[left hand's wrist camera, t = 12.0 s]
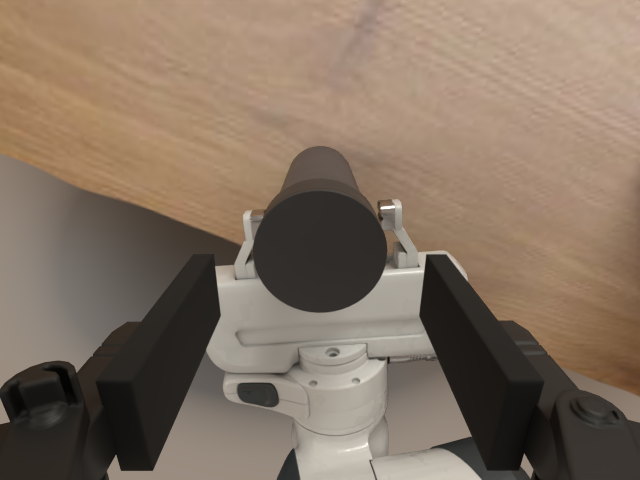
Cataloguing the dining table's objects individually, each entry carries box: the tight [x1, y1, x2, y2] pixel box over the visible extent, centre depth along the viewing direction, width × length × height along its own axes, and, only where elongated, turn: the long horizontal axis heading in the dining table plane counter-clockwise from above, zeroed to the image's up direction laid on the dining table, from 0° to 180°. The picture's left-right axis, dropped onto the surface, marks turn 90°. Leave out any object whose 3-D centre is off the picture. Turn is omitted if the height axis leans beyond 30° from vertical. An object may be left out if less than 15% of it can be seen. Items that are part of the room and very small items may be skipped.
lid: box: [253, 178, 387, 313], centre depth 18 cm, size 6×6×2 cm
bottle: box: [280, 146, 359, 192], centre depth 25 cm, size 6×6×16 cm
